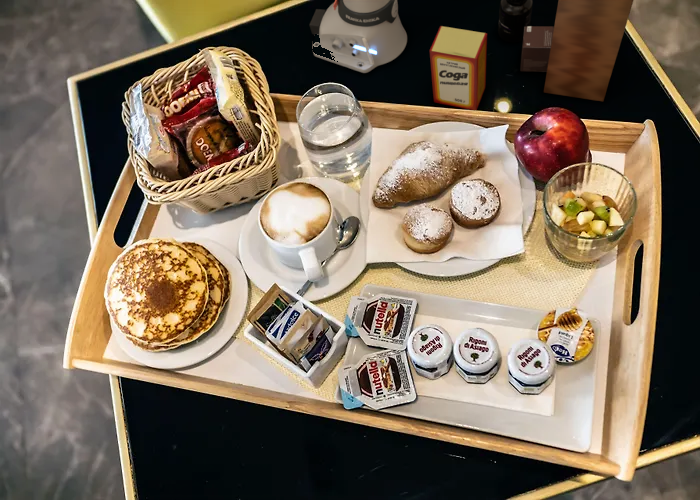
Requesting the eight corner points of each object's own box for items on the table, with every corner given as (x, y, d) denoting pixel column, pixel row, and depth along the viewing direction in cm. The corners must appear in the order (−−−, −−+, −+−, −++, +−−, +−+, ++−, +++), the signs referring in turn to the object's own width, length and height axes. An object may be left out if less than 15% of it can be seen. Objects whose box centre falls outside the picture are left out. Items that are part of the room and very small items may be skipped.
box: (548, 73, 130) (552, 48, 123) (519, 72, 131) (522, 47, 125) (550, 51, 132) (554, 25, 126) (522, 50, 134) (524, 25, 127)
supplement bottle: (494, 41, 136) (496, -2, 126) (502, 18, 138) (505, -25, 128) (524, 46, 134) (529, 3, 123) (533, 23, 136) (538, -21, 126)
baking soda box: (434, 102, 132) (429, 49, 118) (443, 79, 134) (440, 24, 120) (476, 110, 129) (477, 57, 115) (485, 87, 131) (487, 32, 117)
